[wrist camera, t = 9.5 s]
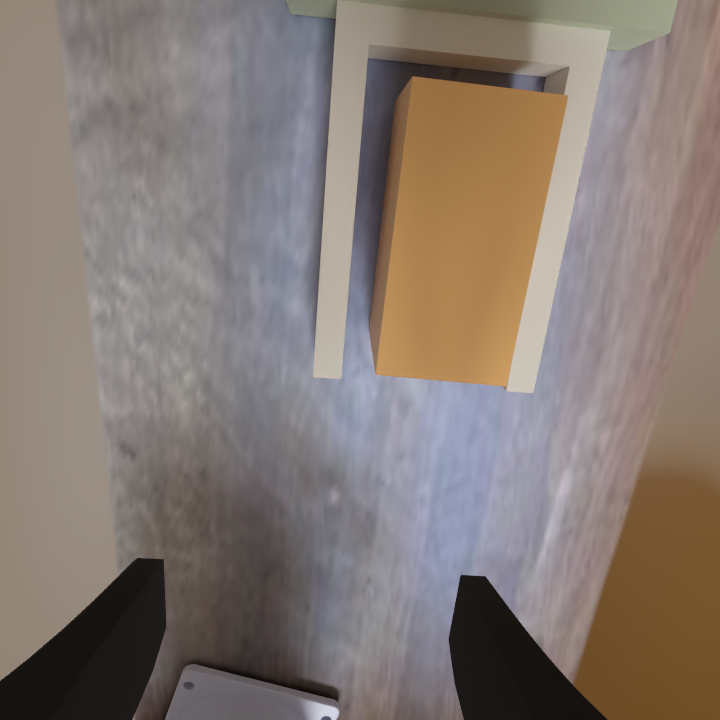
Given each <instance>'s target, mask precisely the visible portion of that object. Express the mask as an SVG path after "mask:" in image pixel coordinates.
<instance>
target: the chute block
mask: <svg viewBox="0 0 720 720" xmlns="http://www.w3.org/2000/svg"><path fill="white" fill-rule="evenodd" d="M567 100H568V95H560V94H552V93H544V92H536V91H528V90H520V89H512V88H504V87H496V86H488V85H479V84H471V83H463V82H455V81H447V80H439V79H431V78H423V77H415V76H412V78H411V79H410V81H409V82H408V83H407V85H406V86H405V88H404V89H403V90H402V92H401V93H400V95H399V96H398V98H397V99H396V100H395V107H394V116H393V124H392V133H391V142H390V150H389V159H388V168H387V176H386V185H385V194H384V202H383V211H382V219H381V228H380V237H379V245H378V254H377V263H376V271H375V280H374V289H373V297H372V306H371V315H370V323H369V334H370V340H371V347H372V354H373V360H374V367H375V374H376V375H385V376H396V377H407V378H418V379H429V380H440V381H452V382H463V383H474V384H485V385H496V386H507V382H508V377H509V373H510V368H511V363H512V359H513V354H514V349H515V345H516V340H517V335H518V330H519V326H520V321H521V316H522V312H523V307H524V302H525V298H526V293H527V288H528V283H529V279H530V274H531V269H532V265H533V260H534V255H535V251H536V246H537V241H538V237H539V232H540V227H541V222H542V218H543V213H544V208H545V204H546V199H547V194H548V190H549V185H550V180H551V175H552V171H553V166H554V161H555V157H556V152H557V147H558V143H559V138H560V133H561V129H562V124H563V119H564V114H565V110H566V105H567Z"/></svg>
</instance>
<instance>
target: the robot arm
mask: <svg viewBox="0 0 720 720" xmlns="http://www.w3.org/2000/svg"><path fill="white" fill-rule="evenodd" d="M165 629H166V608H165V583H164V559H145V558H137V559H136V560H135V561H133V562H132V563H131V564H130V565H129V566H128V567H127V568H126V569H125V570H124V571H123V572H122V573H121V574H120V575H119V576H118V577H117V578H116V579H115V580H114V581H113V582H112V583H111V584H110V585H109V586H108V587H107V588H106V589H105V590H104V591H103V592H102V593H101V594H100V595H99V596H98V597H97V598H96V599H95V600H94V601H93V602H92V603H91V604H90V605H89V606H87V607H86V608H85V609H84V610H83V611H82V612H81V613H80V614H79V615H78V616H77V617H76V618H74V620H72V621H71V622H70V623H69V624H68V625H67V626H66V627H65V628H64V629H62V630H61V631H60V632H59V633H58V634H57V635H56V636H54V637H53V638H52V639H51V640H50V641H49V642H47V643H46V644H45V645H44V646H43V647H42V648H41V649H39V650H38V651H37V652H36V653H35V654H33V655H32V656H31V657H30V658H29V659H27V661H25V662H24V663H22V664H21V665H20V666H19V667H17V668H16V669H15V670H14V671H12V672H11V673H10V674H9V675H7V676H6V677H5V678H3V679H2V680H1V681H0V720H132V719H133V716H134V714H135V712H136V709H137V707H138V705H139V702H140V700H141V698H142V695H143V693H144V691H145V688H146V686H147V683H148V681H149V679H150V676H151V674H152V671H153V668H154V665H155V662H156V659H157V656H158V652H159V649H160V646H161V642H162V639H163V636H164V632H165ZM449 645H450V653H451V661H452V667H453V674H454V681H455V686H456V690H457V694H458V698H459V702H460V706H461V710H462V714H463V718H464V720H607V719H606V718H605V717H604V716H603V715H602V714H601V713H600V712H599V711H598V710H597V709H596V708H595V707H594V706H593V705H592V704H591V703H590V702H589V701H588V700H587V699H586V698H585V697H584V696H583V695H582V694H581V693H580V692H579V691H578V690H577V689H576V688H575V687H574V686H573V685H572V684H571V683H570V681H569V680H568V679H567V678H566V677H565V676H564V675H563V674H562V673H561V671H560V670H559V669H558V668H557V667H556V666H555V665H554V663H553V662H552V661H551V660H550V659H549V658H548V656H547V655H546V654H545V653H544V652H543V650H542V649H541V648H540V647H539V646H538V644H537V643H536V642H535V641H534V639H533V638H532V637H531V636H530V635H529V633H528V632H527V631H526V630H525V628H524V627H523V626H522V624H521V623H520V622H519V621H518V619H517V618H516V617H515V615H514V614H513V613H512V611H511V610H510V609H509V607H508V606H507V605H506V603H505V602H504V601H503V599H502V598H501V597H500V595H499V594H498V593H497V591H496V590H495V589H494V587H493V586H492V584H491V583H490V582H489V581H488V579H487V578H486V577H485V576H468V575H461V576H460V582H459V587H458V592H457V598H456V603H455V608H454V613H453V619H452V624H451V629H450V635H449ZM339 713H340V705H339V703H338V702H337V701H336V700H334V699H330V698H326V697H322V696H318V695H314V694H310V693H306V692H302V691H299V690H295V689H291V688H287V687H283V686H279V685H275V684H271V683H267V682H263V681H259V680H255V679H251V678H247V677H243V676H239V675H235V674H231V673H228V672H224V671H220V670H216V669H212V668H208V667H204V666H200V665H196V664H191V665H187V666H186V667H185V668H184V669H183V672H182V674H181V677H180V680H179V683H178V685H177V688H176V691H175V693H174V696H173V699H172V702H171V704H170V707H169V710H168V712H167V715H166V718H165V720H337V718H338V716H339Z"/></svg>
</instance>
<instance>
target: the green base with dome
mask: <svg viewBox="0 0 720 720" xmlns="http://www.w3.org/2000/svg"><path fill="white" fill-rule="evenodd" d="M286 1H287V4H288V7H289V10H290V13H291V14H295V15H304V16H313V17H322V18H331V19H336V27H335V42H334V58H333V73H332V89H331V104H330V120H329V135H328V151H327V166H326V182H325V197H324V213H323V228H322V244H321V259H320V275H319V290H318V306H317V321H316V337H315V352H314V368H313V377H318V378H332V379H341V373H342V361H343V349H344V337H345V325H346V313H347V301H348V289H349V277H350V265H351V253H352V241H353V229H354V217H355V205H356V193H357V181H358V169H359V157H360V145H361V133H362V121H363V109H364V97H365V85H366V73H367V61H368V58H371V59H380V60H390V61H399V62H408V63H418V64H427V65H436V66H446V67H455V68H464V69H474V70H483V71H492V72H502V73H511V74H520V75H530V76H539V77H546V79H545V84H544V90H543V92H544V93H552V94H560V95H568V100H567V105H566V110H565V114H564V119H563V124H562V129H561V133H560V138H559V143H558V147H557V152H556V157H555V161H554V166H553V171H552V175H551V180H550V185H549V190H548V194H547V199H546V204H545V208H544V213H543V218H542V222H541V227H540V232H539V237H538V241H537V246H536V251H535V255H534V260H533V265H532V269H531V274H530V279H529V283H528V288H527V293H526V298H525V302H524V307H523V312H522V316H521V321H520V326H519V330H518V335H517V340H516V345H515V349H514V354H513V359H512V363H511V368H510V373H509V377H508V382H507V386H503V388H504V389H505V390H506V391H510V392H524V393H533V392H534V387H535V382H536V378H537V373H538V368H539V364H540V359H541V354H542V350H543V345H544V340H545V336H546V331H547V326H548V322H549V317H550V312H551V308H552V303H553V298H554V294H555V289H556V284H557V280H558V275H559V270H560V266H561V261H562V256H563V252H564V247H565V242H566V238H567V233H568V228H569V224H570V219H571V214H572V210H573V205H574V200H575V196H576V191H577V186H578V182H579V177H580V172H581V168H582V163H583V158H584V154H585V149H586V144H587V140H588V135H589V130H590V125H591V121H592V116H593V111H594V107H595V102H596V97H597V93H598V88H599V83H600V79H601V74H602V69H603V65H604V60H605V55H606V51H607V49H610V50H619V51H628V50H630V49H633V48H635V47H637V46H640V45H642V44H644V43H647V42H649V41H651V40H654V39H656V38H658V37H661V36H663V35H665V34H668V33H670V31H671V27H672V23H673V19H674V15H675V11H676V7H677V2H678V0H286Z"/></svg>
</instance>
